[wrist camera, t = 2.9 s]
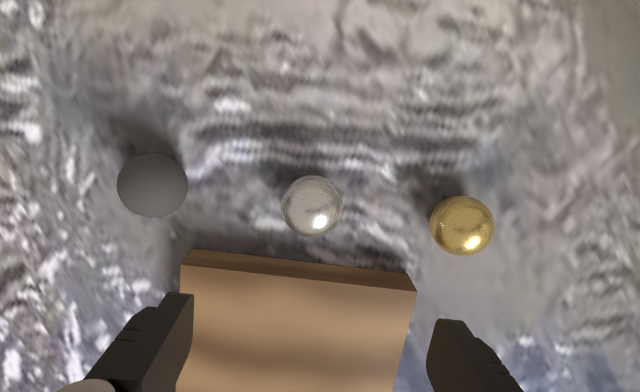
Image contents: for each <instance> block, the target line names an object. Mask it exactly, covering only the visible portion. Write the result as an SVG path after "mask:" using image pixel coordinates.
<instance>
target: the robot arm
mask: <svg viewBox="0 0 640 392" xmlns="http://www.w3.org/2000/svg"><path fill="white" fill-rule="evenodd" d="M193 320H194V295H193V294H187V293H177V292H168V293H167V294H166V296H165V297H164V299H163V300H162V301H161V303H160V304H159V306H158V307H146V308H144V309H143V310H141V311H140V312H138V313H137V314H135V315H134V316H132V318H131V319H130V320H129V321H128V323H127V324H126V325H125V327H124V328H123V331H121V332H120V333H119V334H118V335H117V337H116V338H115V341H113V342H112V343H111V344H110V346H109V347H108V348H107V350H106V351H105V352H104V353H103V355H102V356H101V357H100V359H99V360H98V361H97V362H96V364H95V365H94V366H93V368H92V369H91V370H90V371H89V373H88V374H87V375H86V377H85V378H84V379H83V380H81V381H77V382H74V383H71V384H69V385H67V386H65V387H63V388H61V389H59V390H58V391H56V392H172V391H173V389H174V387H175V384H176V382H177V380H178V378H179V375H180V373H181V371H182V369H183V367H184V364H185V362H186V360H187V358H188V355H189V352H190V349H191V344H192V338H193ZM426 369H427V374H428V378H429V380H430V382H431V385H432V387H433V389H434V391H435V392H524V391H523V390H522V389H521V387H520V386H519V385H518V383H517V382H516V381H515V379H514V378H513V377H512V376H510V372H509V371H508V370H507V368H506V367H505V366H504V365H502V362H501V360H500V359H499V357H498V356H497V355H496V353H495V352H494V351H493V349H492V348H490V347H489V346H488V345H487V344H485V343H484V342H483V341H482V340H481V339H479V338H475V337H474V336H473V334H472V333H471V331H470V330H469V329H468V327H467V326H466V324H465V323H464V322H463V321H461V320H451V319H438V320H437V321H436V324H435V327H434V331H433V335H432V339H431V342H430V346H429V350H428V354H427V359H426Z"/></svg>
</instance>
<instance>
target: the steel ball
mask: <svg viewBox="0 0 640 392" xmlns="http://www.w3.org/2000/svg"><path fill="white" fill-rule="evenodd" d="M281 212H282V216H283V218H284V220H285V222H286V224H287V225H288V226H289V227H290V229H292V230H293V231H294V232H296V233H297V234H299V235H302V236H305V237H319V236H323V235H325V234H327V233H329V232H330V231H331V230H333V229H334V228H335V227H336V226H337V224H338V223H339V221H340V219H341V216H342V213H343V200H342V196H341V194H340V191H339V190H338V188H337V187H336V186H335V185H334V184H333V183H332V182H331V181H330V180H328V179H326V178H324V177H321V176H317V175H308V176H303V177H300V178H298V179H296V180H295V181H293V182H292V183H291V184H290V185H289V186H288V187H287V189H286V190H285V192H284V194H283V197H282V201H281Z"/></svg>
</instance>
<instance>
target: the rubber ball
mask: <svg viewBox="0 0 640 392" xmlns="http://www.w3.org/2000/svg"><path fill="white" fill-rule="evenodd" d="M117 191H118V195H119V197H120V199H121V201H122V202H123V204H124V205H125V206H126V207H127V208H128V209H129V210H131V211H132V212H134V213H136V214H138V215H141V216H144V217H162V216H165V215H168V214H170V213H172V212H173V211H175V210H176V209H177V208H178V207H179V206H180V205H181V204H182V203H183V201H184V200H185V197H186V195H187V191H188V181H187V177H186V174H185V172H184V170H183V169H182V167H181V166H180V165H179V164H178V163H177V162H176V161H174V160H173V159H171V158H169V157H167V156H165V155H162V154H155V153H147V154H142V155H139V156H137V157H135V158H133V159H131V160H130V161H128V162H127V163H126V164H125V165H124V166H123V168H122V169H121V171H120V173H119V175H118V179H117Z"/></svg>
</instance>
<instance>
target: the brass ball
mask: <svg viewBox="0 0 640 392" xmlns="http://www.w3.org/2000/svg"><path fill="white" fill-rule="evenodd" d="M494 229H495V227H494V219H493V216H492V214H491V212H490V210H489V209H488V208H487V207H486V206H485V205H484V204H483V203H482V202H481V201H479V200H477V199H475V198H473V197H469V196H453V197H450V198H447V199H445V200H444V201H442V202H441V203H439V204H438V205H437V206H436V208H435V209H434V211H433V213H432V215H431V218H430V232H431V235H432V237H433V239H434V241H435V242H436V244H437V245H438V246H439V247H440V248H441V249H443V250H444V251H446V252H448V253H450V254H453V255H457V256H469V255H473V254H476V253H478V252H480V251H482V250H483V249H484V248H485V247H486V246H487V245H488V244H489V243H490V241H491V239H492V237H493V234H494Z"/></svg>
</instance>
